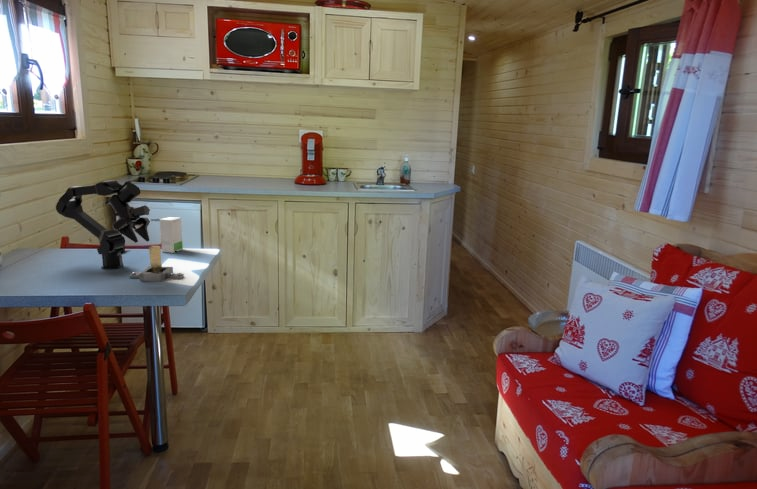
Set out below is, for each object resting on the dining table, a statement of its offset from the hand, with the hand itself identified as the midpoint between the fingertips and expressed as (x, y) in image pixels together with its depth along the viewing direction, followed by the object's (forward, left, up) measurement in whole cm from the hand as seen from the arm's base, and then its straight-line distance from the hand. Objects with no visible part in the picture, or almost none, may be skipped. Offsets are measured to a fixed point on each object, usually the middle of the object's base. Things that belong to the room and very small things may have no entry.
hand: (142, 241), depth 206 cm
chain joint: (+7, -7, -13) cm, 16 cm away
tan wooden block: (+7, -7, -13) cm, 16 cm away
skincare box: (-1, +34, -13) cm, 37 cm away
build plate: (-23, +29, -13) cm, 39 cm away
